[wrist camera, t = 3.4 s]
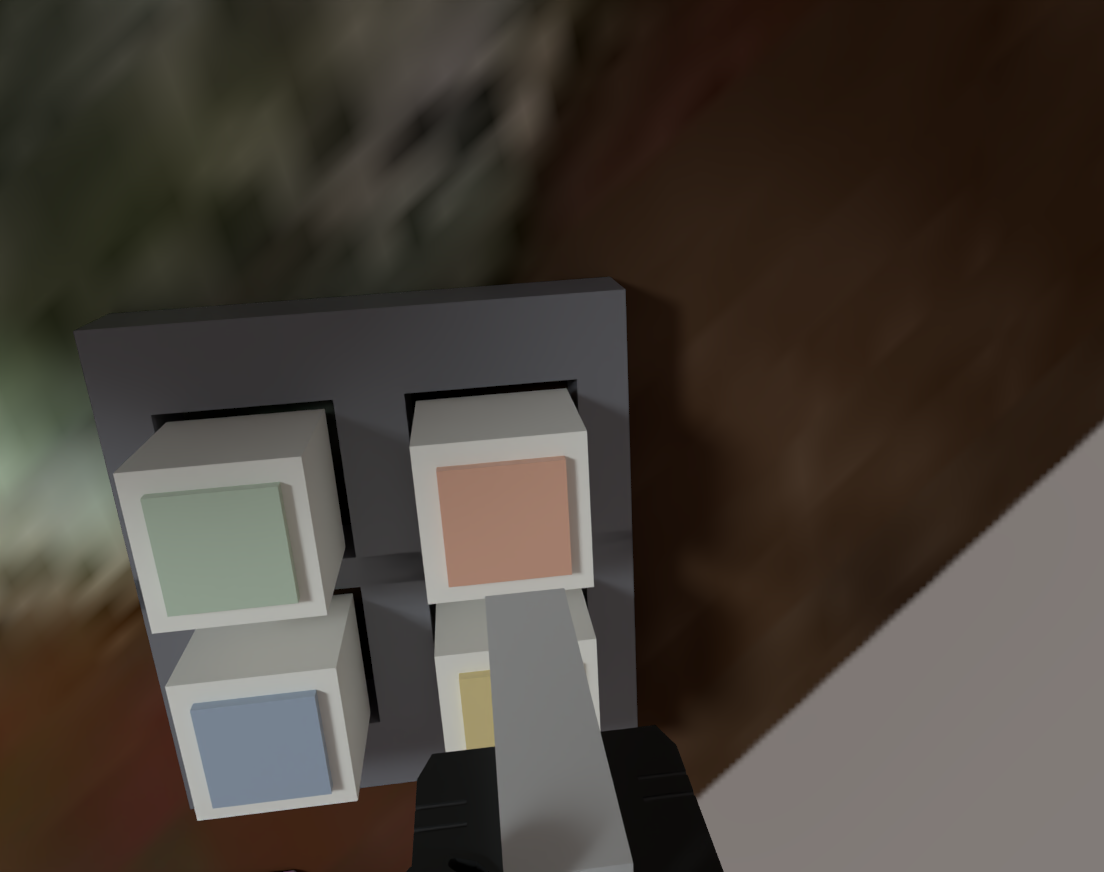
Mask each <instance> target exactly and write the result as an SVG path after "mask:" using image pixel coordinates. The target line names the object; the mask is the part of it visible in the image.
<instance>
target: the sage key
mask: <svg viewBox="0 0 1104 872" xmlns="http://www.w3.org/2000/svg"><path fill="white" fill-rule="evenodd" d="M113 476H114V480H115V484H116V488H117V492H118V496H119V500H120V505H121V509H122V513H123V517H124V521H125V525H126V529H127V533H128V537H129V541H130V546H131V550H132V554H133V558H134V562H135V566H136V570H137V574H138V578H139V583H140V587H141V591H142V595H143V599H144V603H145V607H146V611H147V615H148V619H149V624H150V628H151V632H152V634H155V633H164V632H173V631H183V630H192V629H202V628H211V627H221V626H230V625H239V624H249V623H258V622H268V621H277V620H287V619H296V618H305V617H315V616H324V615H328V611H329V607H330V603H331V600H332V596H333V592H334V588H335V585H336V581H337V577H338V573H339V570H340V566H341V562H342V558H343V555H344V551H345V547H346V546H345V540H344V533H343V526H342V520H341V513H340V506H339V500H338V493H337V487H336V480H335V473H334V467H333V460H332V454H331V447H330V440H329V434H328V427H327V421H326V414H325V409H315V410H303V411H292V412H280V413H268V414H256V415H245V416H233V417H221V418H209V419H198V420H186V421H174V422H166V423H165V424H164V425H163V426H162V427H161V428H160V429H159V430H158V431H157V432H156V433H155V434H154V435H152V436H151V437H150V438H149V439H148V440H147V441H146V442H145V443H144V444H143V445H142V446H141V447H140V448H139V449H138V450H137V451H136V452H135V453H134V454H133V455H132V456H131V457H130V458H128V459H127V460H126V461H125V462H124V463H123V464H122V465H121V466H120V467H119V468H118V469H117V470H116V471H115V472H114V473H113Z"/></svg>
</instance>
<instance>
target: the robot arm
mask: <svg viewBox="0 0 1104 872" xmlns="http://www.w3.org/2000/svg"><path fill="white" fill-rule="evenodd" d="M485 603H486V618H487V633H488V649H489V664H490V679H491V694H492V709H493V724H494V739H495V746H494V747H486V748H477V749H469V750H461V751H452V752H444V753H435V754H432V755H431V757H430V758H429V760H428V762H427V763H426V765H425V767H424V768H423V770H422V772H421V773H420V775H419V777H418V778H417V791H416V811H415V824H414V840H413V856H412V867H410V868H409V869H408V870H407V872H723V869H722V866H721V864H720V861H719V858H718V856H717V853H716V850H715V848H714V845H713V842H712V840H711V837H710V834H709V832H708V829H707V827H706V824H705V821H704V818H703V816H702V813H701V810H700V807H699V805H698V802H697V799H696V797H695V796H694V794H693V789H692V786H691V783H690V781H689V778H688V775H686V770H685V767H684V765H683V762H682V759H681V757H680V754H679V751H678V749H677V746H676V744H675V743H673V742H672V741H671V740H670V739H669V738H668V737H667V736H666V735H665V734H664V733H663V732H662V731H661V730H660V729H659V728H658V727H657V726H656V725H652V726H644V727H635V728H627V729H618V730H610V731H601V732H600V729H599V725H598V721H597V717H596V713H595V709H594V705H593V701H592V697H591V693H590V689H589V685H588V681H587V677H586V673H585V669H584V665H583V661H582V657H581V653H580V649H579V645H578V641H577V637H576V633H575V629H574V625H573V621H572V617H571V613H570V609H569V605H568V601H567V597H566V593H565V589H564V588H559V589H550V590H540V591H530V592H521V593H511V594H502V595H492V596H485Z"/></svg>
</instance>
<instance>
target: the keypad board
mask: <svg viewBox="0 0 1104 872" xmlns="http://www.w3.org/2000/svg"><path fill="white" fill-rule="evenodd" d="M73 333H74V337H75V341H76V345H77V349H78V353H79V357H80V361H81V366H82V370H83V374H84V378H85V382H86V386H87V390H88V394H89V398H90V402H91V406H92V410H93V414H94V418H95V422H96V427H97V431H98V435H99V439H100V443H101V447H102V451H103V455H104V459H105V463H106V467H107V471H108V475H109V479H110V484H111V488H112V492H113V496H114V500H115V504H116V508H117V512H118V516H119V520H120V524H121V528H122V532H123V536H124V541H125V545H126V549H127V553H128V557H129V561H130V565H131V569H132V573H133V577H134V581H135V585H136V589H137V593H138V597H139V602H140V606H141V610H142V614H143V618H144V622H145V626H146V630H147V634H148V638H149V642H150V646H151V650H152V654H153V659H154V663H155V667H156V671H157V675H158V679H159V683H160V687H161V691H162V695H163V699H164V703H165V707H166V711H167V715H168V720H169V724H170V728H171V732H172V736H173V740H174V744H175V748H176V752H177V756H178V760H179V764H180V768H181V772H182V777H183V781H184V785H185V789H186V793H187V797H188V801H189V805H190V809H194V804H193V800H192V796H191V792H190V788H189V784H188V780H187V775H186V771H185V767H184V763H183V759H182V755H181V751H180V747H179V743H178V738H177V734H176V730H175V726H174V722H173V718H172V714H171V710H170V706H169V702H168V697H167V693H166V689H165V686H166V684H167V682H168V680H169V678H170V676H171V675H172V673H173V671H174V669H175V667H176V665H177V663H178V661H179V660H180V658H181V656H182V654H183V652H184V650H185V648H186V646H187V645H188V643H189V641H190V639H191V637H192V635H193V633H194V631H195V630H196V629H192V630H183V631H173V632H164V633H155V634H152V632H151V628H150V624H149V619H148V615H147V611H146V607H145V603H144V599H143V595H142V591H141V587H140V583H139V578H138V574H137V570H136V566H135V562H134V558H133V554H132V550H131V546H130V541H129V537H128V533H127V529H126V525H125V521H124V517H123V513H122V509H121V505H120V500H119V496H118V492H117V488H116V484H115V480H114V476H113V473H114V472H115V471H116V470H117V469H118V468H119V467H120V466H121V465H122V464H123V463H124V462H125V461H126V460H127V459H128V458H130V457H131V456H132V455H133V454H134V453H135V452H136V451H137V450H138V449H139V448H140V447H141V446H142V445H143V444H144V443H145V442H146V441H147V440H148V439H149V438H150V437H151V436H152V435H154V434H155V433H156V432H157V431H158V430H159V429H160V428H161V427H162V426H163V425H164V424H165V423H166V422H174V421H184V416H183V412H193V411H205V410H217V409H229V408H241V407H252V406H264V405H276V404H288V403H300V402H312V401H324V400H333V404H334V410H335V417H336V424H337V431H338V438H339V444H340V451H341V458H342V465H343V471H344V478H345V485H346V492H347V499H348V505H349V512H350V519H351V525H342V526H343V533H344V540H345V546H346V547H345V551H344V555H343V558H342V562H341V566H340V570H339V573H338V577H337V581H336V585H335V588H334V590H335V589H344V588H354V587H361V594H362V600H363V607H364V614H365V621H366V628H367V634H368V641H369V648H370V655H371V662H372V668H373V675H374V679H366V685H367V692H368V698H369V705H370V719H369V726H368V733H367V740H366V747H365V754H364V761H363V768H362V775H361V781H360V788H363V787H371V786H380V785H388V784H396V783H404V782H412V781H417V778H418V777H419V775H420V773H421V772H422V770H423V768H424V767H425V765H426V763H427V762H428V760H429V758H430V757H431V755H432V754H435V753H444V752H446V751H445V743H444V735H443V726H442V718H441V709H440V701H439V692H438V684H437V676H436V667H435V659H434V651H435V622H436V608H435V604H428V600H427V591H426V583H425V574H424V566H423V557H422V549H421V541H420V532H419V524H418V515H417V507H416V498H415V490H414V482H413V473H412V465H411V456H410V448H409V446H410V439H411V432H412V425H413V409H412V400H411V393H419V392H430V391H442V390H454V389H466V388H478V387H490V386H502V385H514V384H525V383H537V382H549V381H561V380H567V385H568V392H569V394H570V396H571V399H572V401H573V403H574V405H575V407H576V409H577V411H578V413H579V415H580V417H581V419H582V422H583V424H584V426H585V428H586V430H587V443H588V465H589V488H590V510H591V532H592V554H593V576H594V587H588V588H582V592H583V595H584V599H585V602H586V605H587V609H588V612H589V616H590V619H591V622H592V626H593V629H594V633H595V636H596V643H597V665H598V687H599V710H600V732H601V731H610V730H618V729H627V728H635V727H638V725H637V688H636V652H635V616H634V580H633V544H632V507H631V471H630V435H629V399H628V363H627V326H626V290H625V289H624V288H623V287H622V286H621V285H619V284H618V283H617V282H616V281H615V280H613V279H612V278H611V277H600V278H586V279H573V280H559V281H546V282H532V283H519V284H505V285H492V286H478V287H465V288H451V289H437V290H424V291H410V292H397V293H383V294H370V295H356V296H343V297H329V298H316V299H302V300H289V301H275V302H261V303H248V304H234V305H221V306H207V307H194V308H180V309H167V310H153V311H140V312H126V313H113V314H107V315H105V316H103V317H101V318H99V319H97V320H95V321H93V322H91V323H89V324H87V325H84V326H82V327H80V328H78V329H76V330H74V331H73Z"/></svg>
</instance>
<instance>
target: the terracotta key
mask: <svg viewBox="0 0 1104 872" xmlns="http://www.w3.org/2000/svg"><path fill="white" fill-rule="evenodd" d="M409 448H410V456H411V465H412V473H413V482H414V490H415V498H416V507H417V515H418V524H419V532H420V541H421V549H422V557H423V566H424V574H425V583H426V591H427V600H428V604H437V603H447V602H456V601H466V600H475V599H485V596H492V595H502V594H511V593H521V592H530V591H540V590H550V589H559V588H564V589H565V590H569V589H579V588H588V587H594V576H593V554H592V532H591V510H590V488H589V465H588V443H587V430H586V428H585V426H584V424H583V422H582V419H581V417H580V415H579V413H578V411H577V409H576V407H575V405H574V403H573V401H572V399H571V396H570V394H569V392H568V390H567V388H562V389H550V390H538V391H527V392H515V393H503V394H491V395H480V396H468V397H456V398H444V399H433V400H421V401H416V404H415V411H414V418H413V425H412V432H411V439H410V446H409Z"/></svg>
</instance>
